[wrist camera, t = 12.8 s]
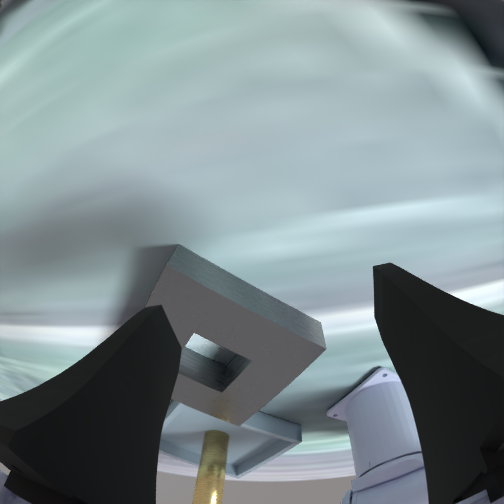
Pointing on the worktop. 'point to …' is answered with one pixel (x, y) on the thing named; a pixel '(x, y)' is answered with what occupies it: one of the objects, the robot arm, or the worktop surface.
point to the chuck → (232, 338)
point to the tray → (240, 438)
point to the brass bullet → (211, 468)
